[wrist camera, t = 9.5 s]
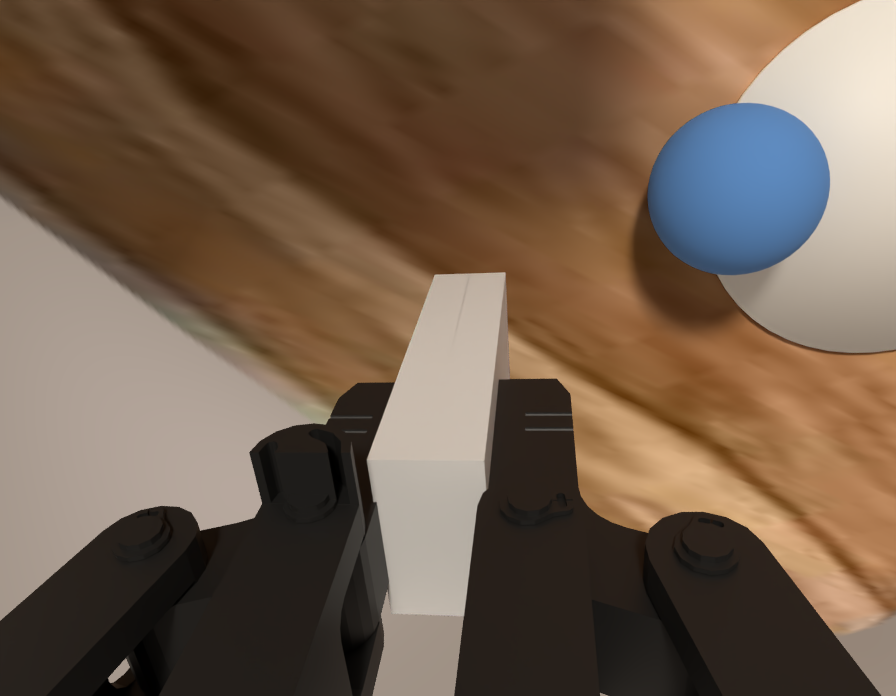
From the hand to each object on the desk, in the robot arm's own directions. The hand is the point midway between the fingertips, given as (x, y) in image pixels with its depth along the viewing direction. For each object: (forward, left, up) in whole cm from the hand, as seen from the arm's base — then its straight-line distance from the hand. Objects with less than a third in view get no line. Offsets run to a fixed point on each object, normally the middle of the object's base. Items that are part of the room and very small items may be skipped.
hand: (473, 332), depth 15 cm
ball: (+3, +7, -10) cm, 13 cm away
